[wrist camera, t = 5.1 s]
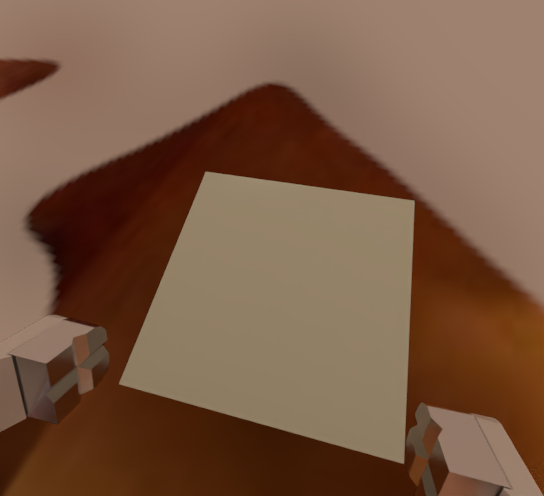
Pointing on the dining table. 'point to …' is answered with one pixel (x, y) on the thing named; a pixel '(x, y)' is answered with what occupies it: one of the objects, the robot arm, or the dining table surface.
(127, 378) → the sage block
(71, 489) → the dining table surface
